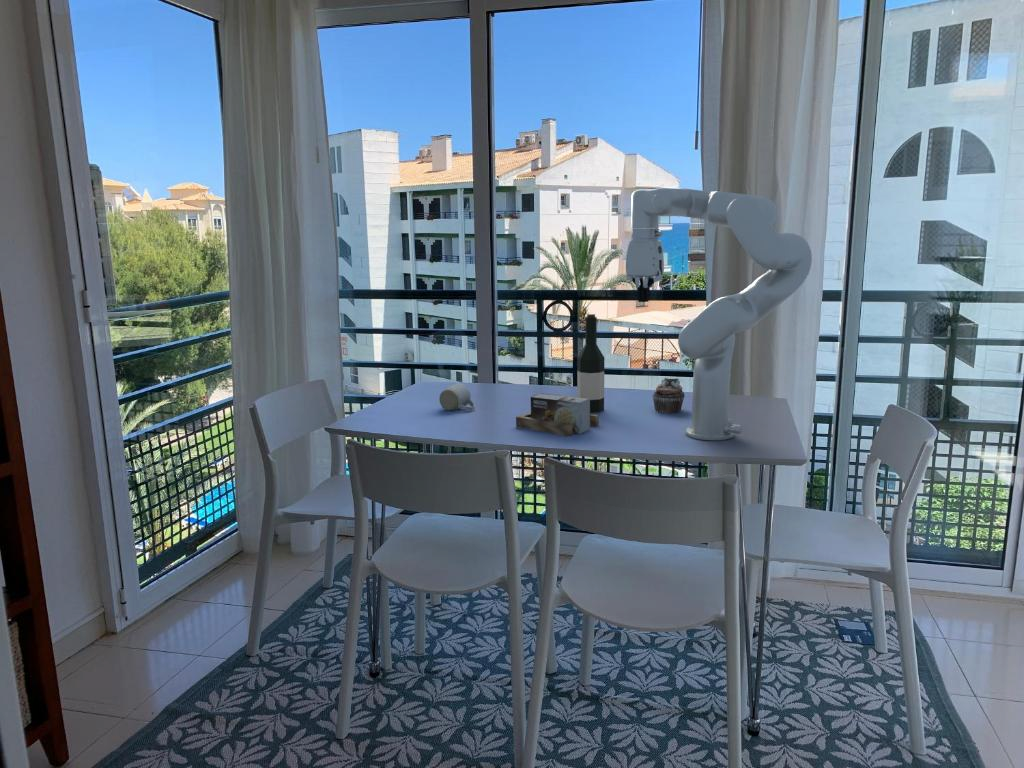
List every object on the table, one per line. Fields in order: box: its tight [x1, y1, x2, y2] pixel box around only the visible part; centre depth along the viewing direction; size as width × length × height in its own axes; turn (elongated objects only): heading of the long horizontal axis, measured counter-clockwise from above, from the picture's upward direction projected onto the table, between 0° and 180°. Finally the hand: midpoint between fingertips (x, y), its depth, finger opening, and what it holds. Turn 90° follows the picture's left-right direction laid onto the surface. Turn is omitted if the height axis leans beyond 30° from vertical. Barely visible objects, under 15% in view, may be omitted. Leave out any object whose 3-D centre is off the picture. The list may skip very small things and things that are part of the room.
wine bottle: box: [576, 313, 605, 414], centre depth 230 cm, size 8×8×30 cm
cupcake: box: [652, 377, 685, 414], centre depth 229 cm, size 10×10×10 cm
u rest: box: [515, 411, 600, 437], centre depth 214 cm, size 18×15×3 cm
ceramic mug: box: [439, 382, 476, 412], centre depth 236 cm, size 11×8×8 cm
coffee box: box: [530, 392, 591, 435], centre depth 211 cm, size 9×6×16 cm
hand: (643, 301), depth 210 cm, fingers closed
